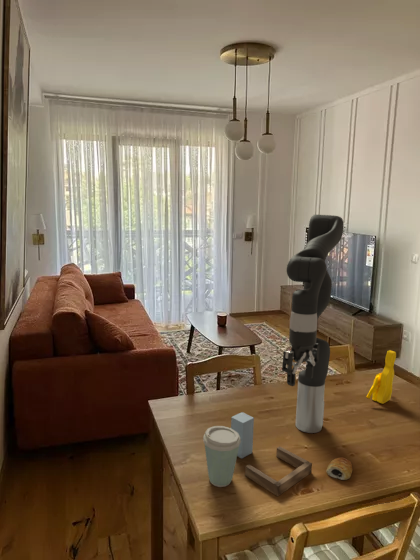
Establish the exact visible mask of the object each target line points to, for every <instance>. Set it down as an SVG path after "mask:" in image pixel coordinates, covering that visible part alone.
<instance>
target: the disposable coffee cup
mask: <svg viewBox="0 0 420 560" xmlns="http://www.w3.org/2000/svg"><path fill="white" fill-rule="evenodd" d="M202 436H203V437H202V440H203V444H204V451H205V458H206V466H207V467H206V468H207V474H208V479H209V483H210V484H212V485H213V486H215V487H218V488H222V487H224V488H225V487H227V486H229V485H230V484H231V482H232V480H233V477H234V473H235V466H236V462H237V457H238V456H237V454H238V449H239V445H240V443H241V438H240V436H239V434H238V433H237V432H236V431H235V430H233V429H231V427H228V426H224V425H213V426H211V427H208V428H207V429H206V430H205V431H204V434H203V435H202Z"/></svg>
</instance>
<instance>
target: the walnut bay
mask: <svg viewBox="0 0 420 560" xmlns="http://www.w3.org/2000/svg"><path fill="white" fill-rule="evenodd" d="M275 457H276V458H278V459H280V460H282V461H284V462H285V463H287V464H289V465H291V466H293V467H295V469H294V470H292V471H290V472H289V473H288V474H286V475H285V476H283V477H282V478H280V479H278V480H276V479H274V478H272V477H271V476H269V475H267V474H266V473H265V472H262V471H261V470H259V469H258V468H256V467H254V466H252V465H251V464H247V465H246V466H245V471H244V472H245V474H244V476H245V477H247V478H249V479H250V480H251V481H253V482H254V483H255V484H257V485H259V486H261V487H262V488H264V489H265V490H266V491H268V492H270V493H272V494H273V495H275V496H276V497H279V496H281V495H282V494H284V493H285V492H286V491H287V490H289V489H290V488H292V487H293V486H294V485H296V484H297V483H299V482H300V481H302V480H303V479H304V478H306V477H308V475H310V474H311V473H312V471H313V469H312V468H313V463H312V462H311V461H308V460H306V459H305V458H304V457H301V456H299V455H297V454H296V453H293V452H292V451H289V450H288V449H286V448H284V447H282V446H280V445H279V446H278V447H276V456H275Z"/></svg>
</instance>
